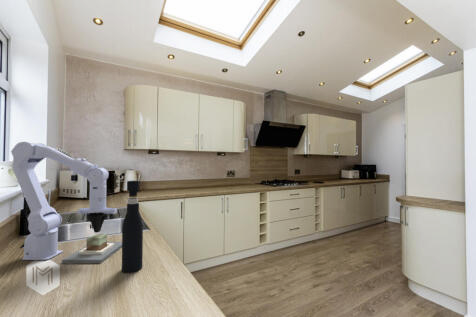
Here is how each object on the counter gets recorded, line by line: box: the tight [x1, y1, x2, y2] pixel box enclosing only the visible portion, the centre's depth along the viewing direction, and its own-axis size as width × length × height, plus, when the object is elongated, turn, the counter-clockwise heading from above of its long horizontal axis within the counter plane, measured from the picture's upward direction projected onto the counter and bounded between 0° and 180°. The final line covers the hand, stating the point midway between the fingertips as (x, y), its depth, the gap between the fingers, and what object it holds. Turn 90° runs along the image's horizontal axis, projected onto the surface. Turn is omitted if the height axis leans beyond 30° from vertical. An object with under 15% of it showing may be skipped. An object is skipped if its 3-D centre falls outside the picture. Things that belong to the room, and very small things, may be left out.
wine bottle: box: [121, 180, 144, 274], centre depth 76 cm, size 6×6×30 cm
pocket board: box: [61, 241, 122, 264], centre depth 89 cm, size 14×18×2 cm
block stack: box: [86, 233, 108, 251], centre depth 89 cm, size 5×5×6 cm
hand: (97, 231), depth 89 cm, fingers closed
